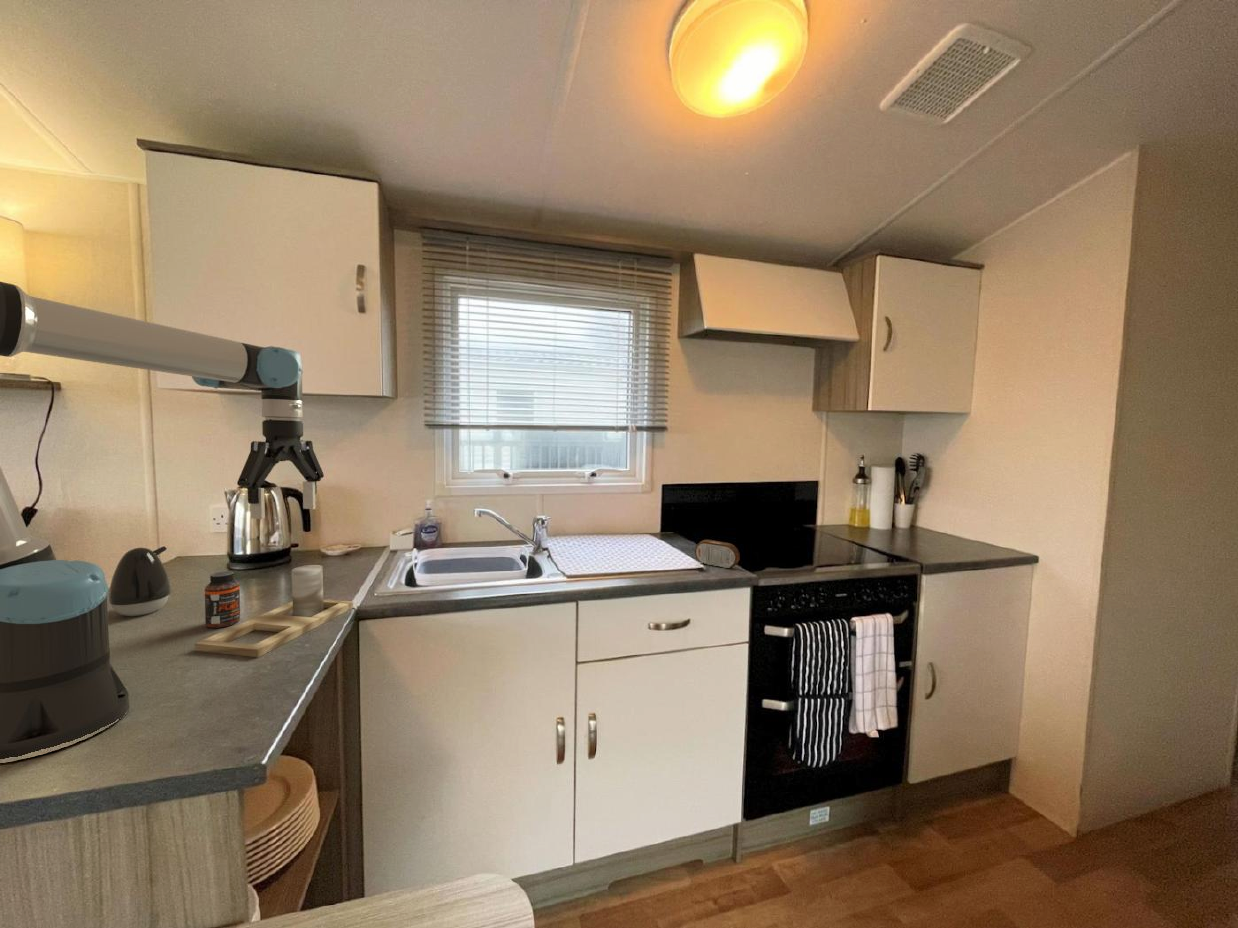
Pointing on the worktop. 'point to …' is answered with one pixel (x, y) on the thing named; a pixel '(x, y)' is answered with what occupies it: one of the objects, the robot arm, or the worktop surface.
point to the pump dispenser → (139, 583)
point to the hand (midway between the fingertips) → (285, 513)
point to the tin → (717, 553)
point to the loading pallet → (282, 617)
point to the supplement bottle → (222, 600)
